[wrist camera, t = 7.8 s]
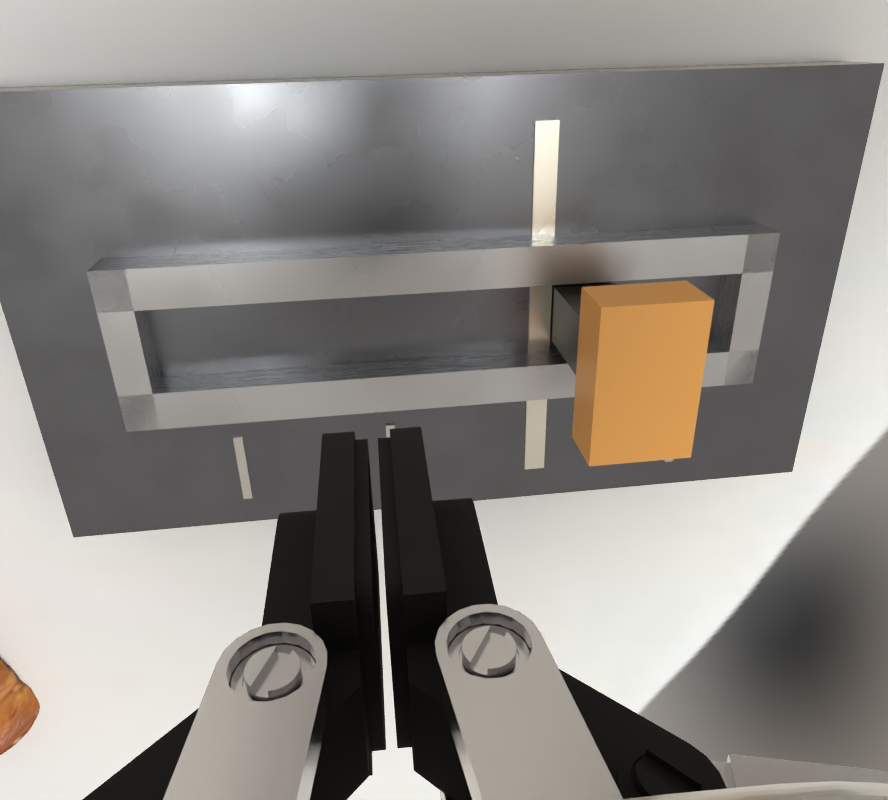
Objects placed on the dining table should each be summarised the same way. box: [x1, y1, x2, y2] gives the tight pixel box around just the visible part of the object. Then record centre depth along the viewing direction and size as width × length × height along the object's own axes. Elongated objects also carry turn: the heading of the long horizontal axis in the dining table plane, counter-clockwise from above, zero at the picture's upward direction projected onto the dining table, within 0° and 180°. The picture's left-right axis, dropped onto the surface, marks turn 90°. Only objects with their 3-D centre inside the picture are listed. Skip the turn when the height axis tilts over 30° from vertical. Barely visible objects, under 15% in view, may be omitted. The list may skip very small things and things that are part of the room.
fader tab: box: [552, 280, 715, 466], centre depth 21 cm, size 3×4×6 cm, turn 1°
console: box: [0, 61, 884, 537], centre depth 23 cm, size 26×14×3 cm, turn 91°
